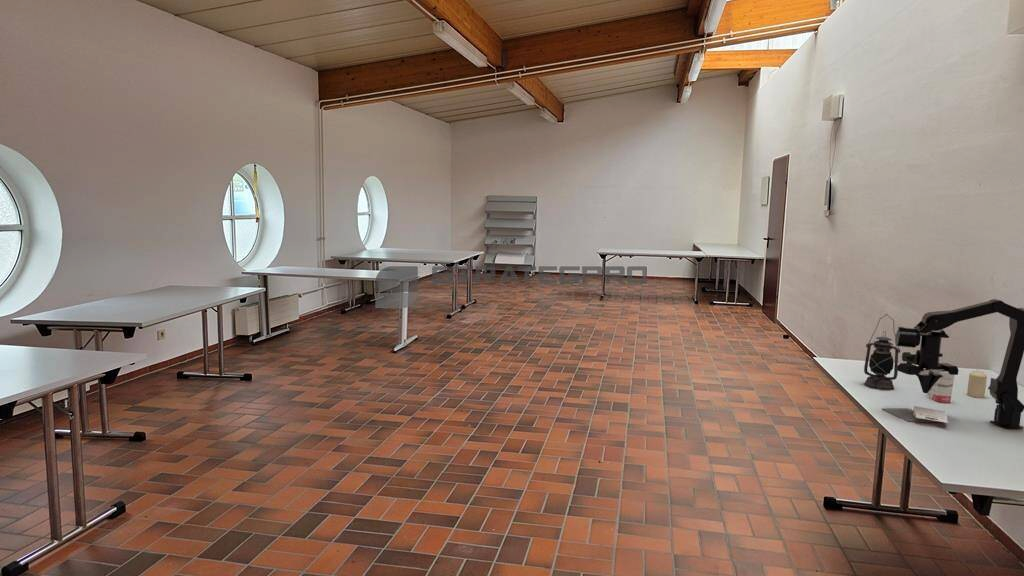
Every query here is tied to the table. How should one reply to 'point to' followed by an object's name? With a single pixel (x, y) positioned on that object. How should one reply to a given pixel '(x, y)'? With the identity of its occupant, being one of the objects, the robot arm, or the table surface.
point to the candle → (977, 384)
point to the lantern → (881, 363)
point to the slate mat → (905, 414)
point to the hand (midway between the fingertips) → (925, 393)
